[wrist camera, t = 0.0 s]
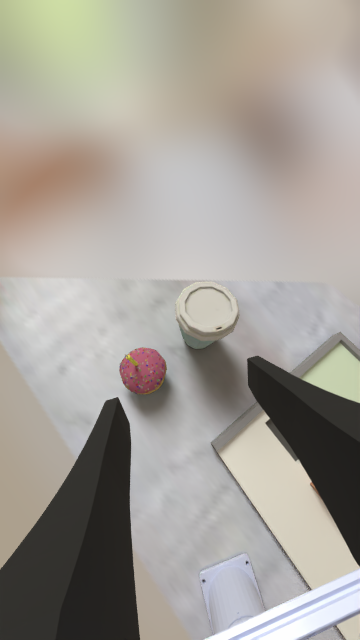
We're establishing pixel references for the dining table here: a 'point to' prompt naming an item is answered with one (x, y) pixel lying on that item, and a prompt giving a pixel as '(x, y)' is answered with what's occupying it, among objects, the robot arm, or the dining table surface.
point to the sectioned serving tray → (296, 475)
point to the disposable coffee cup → (206, 313)
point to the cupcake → (143, 370)
